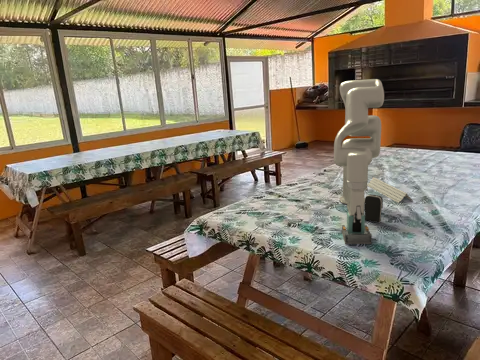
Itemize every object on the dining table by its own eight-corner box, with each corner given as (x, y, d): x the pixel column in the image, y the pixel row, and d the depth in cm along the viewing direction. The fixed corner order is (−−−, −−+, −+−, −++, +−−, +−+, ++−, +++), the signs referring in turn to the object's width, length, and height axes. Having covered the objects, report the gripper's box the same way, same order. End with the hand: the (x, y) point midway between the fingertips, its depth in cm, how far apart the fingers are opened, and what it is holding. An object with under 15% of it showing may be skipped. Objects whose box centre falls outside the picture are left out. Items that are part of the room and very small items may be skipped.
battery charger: (383, 220, 152) (384, 195, 149) (379, 223, 149) (380, 197, 146) (367, 217, 157) (368, 192, 154) (363, 220, 154) (364, 195, 151)
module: (346, 228, 141) (347, 211, 139) (362, 228, 140) (362, 211, 138) (348, 233, 137) (348, 215, 135) (364, 233, 136) (365, 215, 134)
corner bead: (414, 202, 173) (415, 192, 171) (397, 204, 171) (398, 194, 170) (380, 184, 202) (380, 176, 201) (365, 186, 201) (366, 178, 200)
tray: (341, 232, 143) (341, 224, 142) (366, 232, 142) (366, 224, 140) (345, 243, 134) (345, 234, 133) (371, 244, 132) (371, 234, 131)
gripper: (343, 178, 142) (342, 220, 147) (349, 191, 126) (348, 238, 131) (363, 178, 141) (361, 220, 146) (371, 191, 125) (369, 238, 130)
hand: (355, 228), depth 138 cm, fingers closed on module, 4 cm apart
